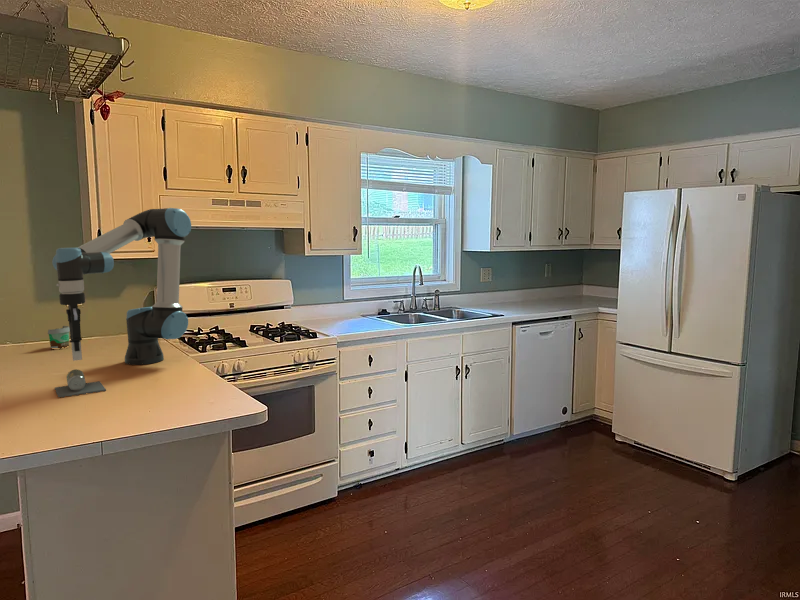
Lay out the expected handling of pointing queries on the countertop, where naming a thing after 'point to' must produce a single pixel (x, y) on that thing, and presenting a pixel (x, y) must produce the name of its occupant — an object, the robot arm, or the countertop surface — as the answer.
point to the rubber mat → (87, 388)
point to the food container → (59, 337)
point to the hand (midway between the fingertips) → (77, 359)
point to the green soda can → (75, 380)
